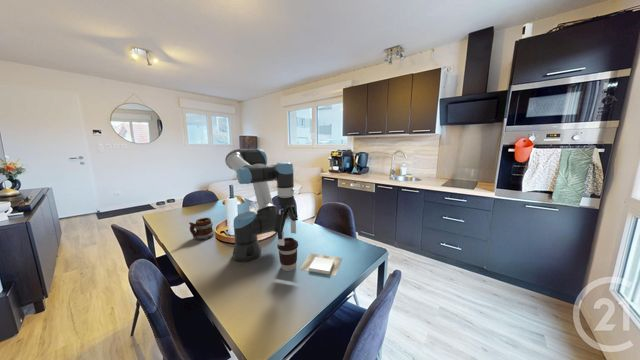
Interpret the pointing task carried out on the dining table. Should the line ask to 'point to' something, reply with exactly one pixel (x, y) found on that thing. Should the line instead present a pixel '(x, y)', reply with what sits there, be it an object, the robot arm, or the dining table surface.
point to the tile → (321, 265)
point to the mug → (202, 228)
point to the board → (311, 257)
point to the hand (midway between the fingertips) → (287, 238)
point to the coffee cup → (288, 254)
